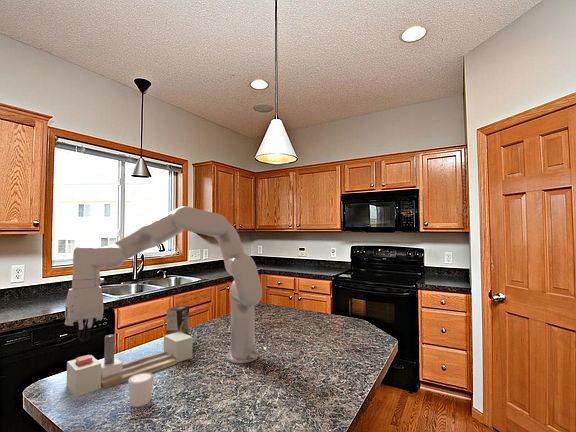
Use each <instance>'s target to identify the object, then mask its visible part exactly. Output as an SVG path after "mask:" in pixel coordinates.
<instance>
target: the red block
mask: <svg viewBox="0 0 576 432" xmlns="http://www.w3.org/2000/svg"><path fill="white" fill-rule="evenodd" d="M90 355H91V354H87V355H82V356H78V357H75V359H76V365H77V366H78V367H79V366H82V365H86V364H89V363H92V357H91V356H90Z"/></svg>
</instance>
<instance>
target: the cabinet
mask: <svg viewBox="0 0 576 432" xmlns="http://www.w3.org/2000/svg"><path fill="white" fill-rule="evenodd" d="M193 339H194V338H193V336H191V335H190V334H189V335H187V334H184V333H182V332H176V333H173V334H169V335H166V334H165V335H163V352H164V351H166V355H172V358H173V359H175V360H176V364H177V363H180V362H183V361H185V360H189V359H191V358H193Z"/></svg>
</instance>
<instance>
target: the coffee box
mask: <svg viewBox="0 0 576 432" xmlns="http://www.w3.org/2000/svg"><path fill="white" fill-rule="evenodd" d="M165 328H166V329H165V330H166V331H165V335H169V334H173V333H176V332H182V333H184V334H187V335H189V336H190V305H176V306H173V307H170V308H168V309H167V310H166V327H165Z"/></svg>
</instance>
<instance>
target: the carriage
mask: <svg viewBox="0 0 576 432" xmlns="http://www.w3.org/2000/svg"><path fill="white" fill-rule="evenodd" d="M115 341H116V335H115V334H108V335H105V336H104V354H103V355H104V359H103V360H98V361H99V362H100V363H101V377H103V378H104V377H107V376H110V375H113V374H116V373H119V372H122V364H123V362H122V361H121V360H120V359H119V358H117V357H116V356H115V351H116V349H115V347H116V346H115V344H116V342H115Z"/></svg>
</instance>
